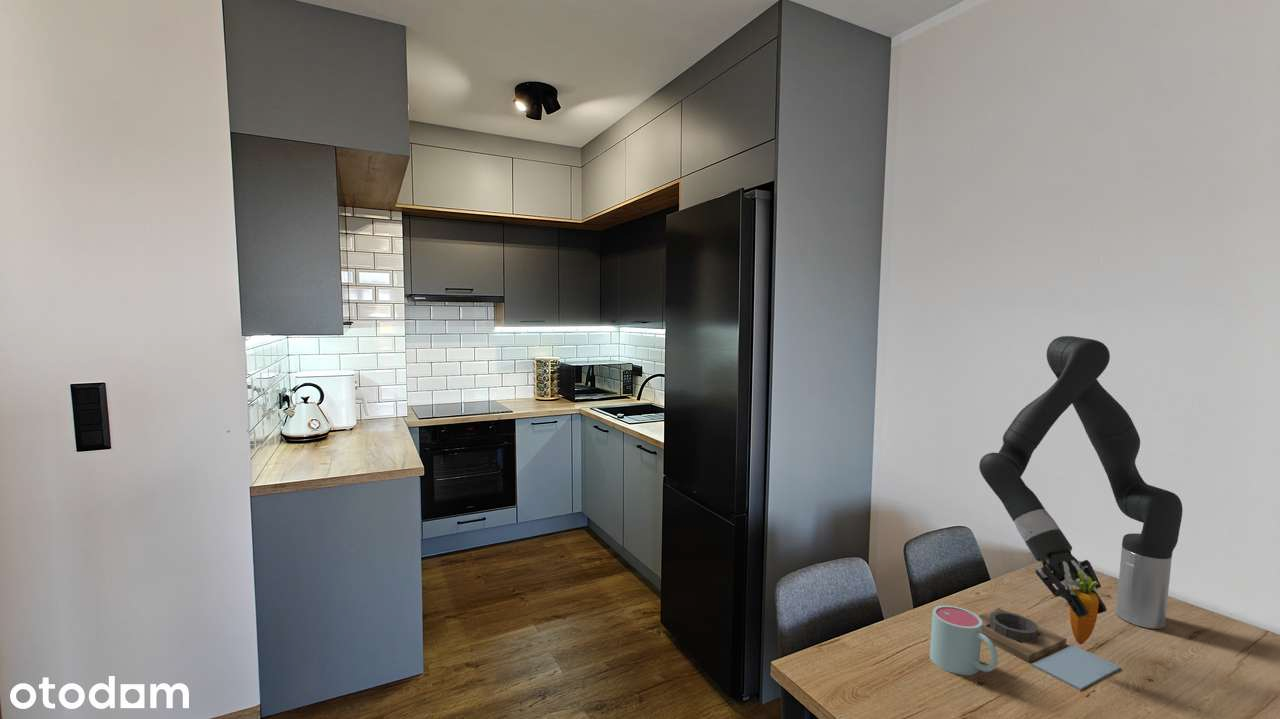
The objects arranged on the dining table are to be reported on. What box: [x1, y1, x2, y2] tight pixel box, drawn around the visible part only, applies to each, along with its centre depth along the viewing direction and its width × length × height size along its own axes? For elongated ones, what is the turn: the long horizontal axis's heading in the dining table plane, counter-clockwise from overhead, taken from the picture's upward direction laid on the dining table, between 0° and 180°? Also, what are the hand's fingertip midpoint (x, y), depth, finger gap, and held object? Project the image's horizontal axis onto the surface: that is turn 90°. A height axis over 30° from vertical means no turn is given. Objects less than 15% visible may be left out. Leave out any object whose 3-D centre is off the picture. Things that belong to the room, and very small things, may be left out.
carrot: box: [1069, 572, 1099, 645], centre depth 122 cm, size 5×5×15 cm
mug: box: [929, 605, 999, 676], centre depth 121 cm, size 14×9×10 cm
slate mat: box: [1031, 644, 1121, 691], centre depth 123 cm, size 16×9×1 cm, turn 118°
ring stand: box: [978, 608, 1067, 663], centre depth 134 cm, size 15×15×4 cm
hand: (1092, 613), depth 120 cm, fingers closed on carrot, 4 cm apart
